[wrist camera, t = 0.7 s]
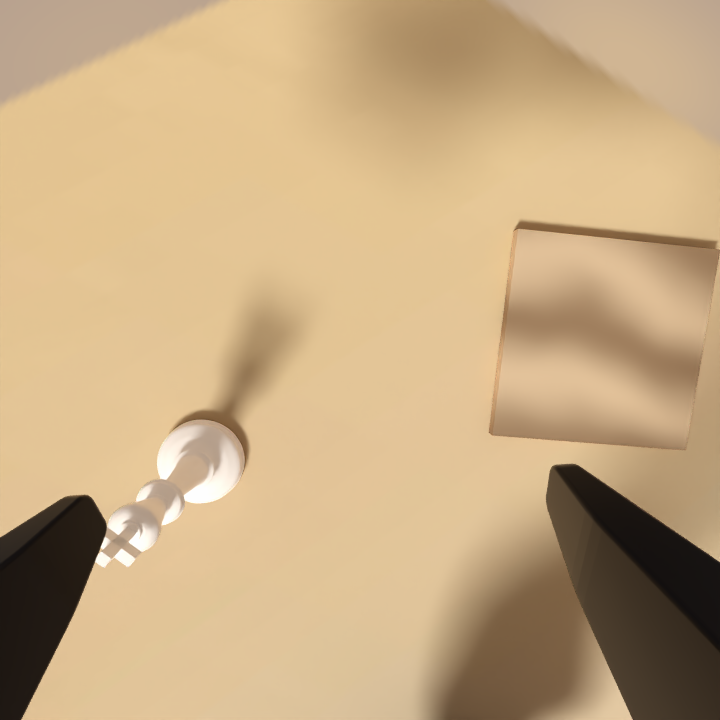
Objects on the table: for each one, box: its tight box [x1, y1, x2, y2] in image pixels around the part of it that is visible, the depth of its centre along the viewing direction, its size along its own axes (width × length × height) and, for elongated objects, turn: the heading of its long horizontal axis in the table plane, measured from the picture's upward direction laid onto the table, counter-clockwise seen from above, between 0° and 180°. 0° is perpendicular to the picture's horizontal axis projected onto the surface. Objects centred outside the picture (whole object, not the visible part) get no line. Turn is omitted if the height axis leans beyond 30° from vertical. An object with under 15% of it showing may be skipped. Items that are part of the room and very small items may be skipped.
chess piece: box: [95, 420, 245, 568], centre depth 19 cm, size 5×5×10 cm
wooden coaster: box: [489, 229, 720, 450], centre depth 24 cm, size 12×12×1 cm
